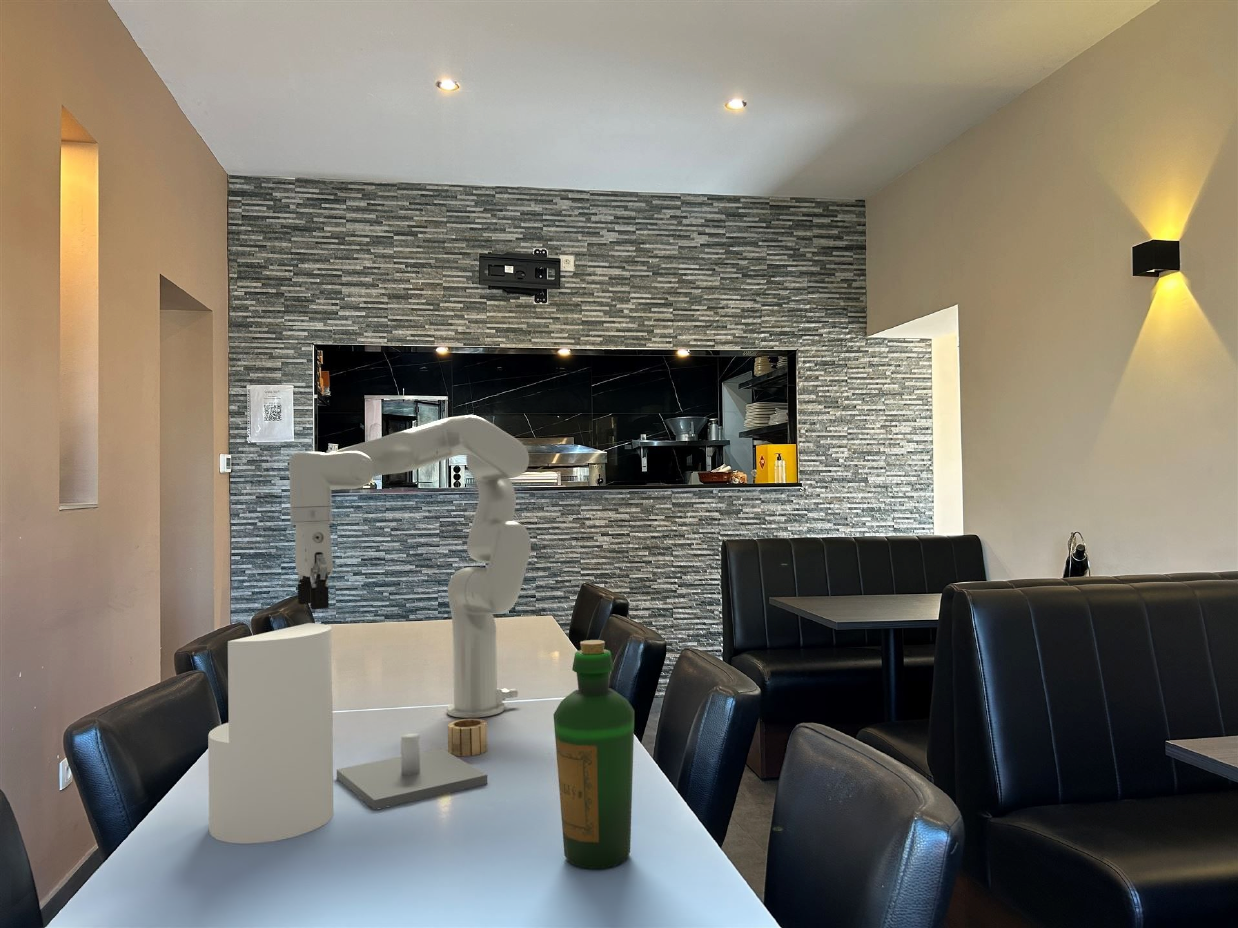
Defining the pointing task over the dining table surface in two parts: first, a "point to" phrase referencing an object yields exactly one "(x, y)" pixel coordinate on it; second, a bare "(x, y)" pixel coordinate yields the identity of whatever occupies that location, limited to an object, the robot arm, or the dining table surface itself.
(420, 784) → the stand
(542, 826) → the dining table surface
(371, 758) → the dining table surface
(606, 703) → the bottle
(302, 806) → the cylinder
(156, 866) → the dining table surface
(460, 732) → the wooden stave ring
